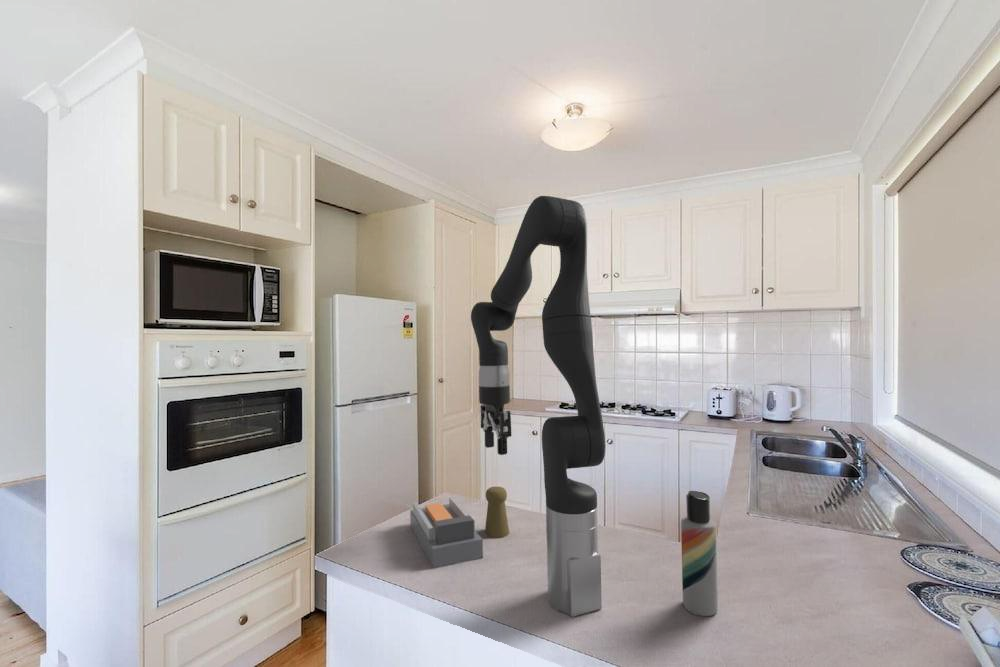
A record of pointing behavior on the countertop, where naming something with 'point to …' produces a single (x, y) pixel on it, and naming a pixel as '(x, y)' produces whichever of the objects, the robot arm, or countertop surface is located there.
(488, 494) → the olive pawn figure
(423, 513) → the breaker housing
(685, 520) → the lotion bottle
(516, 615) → the countertop surface
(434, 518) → the lever
